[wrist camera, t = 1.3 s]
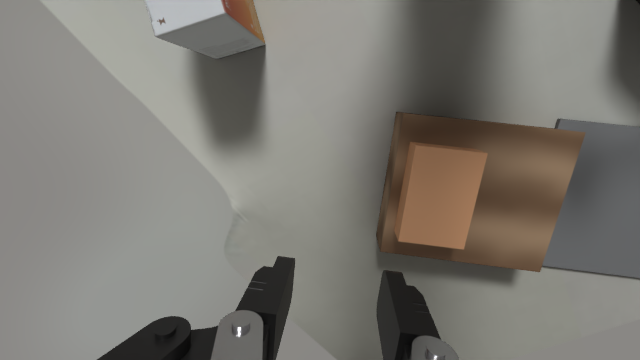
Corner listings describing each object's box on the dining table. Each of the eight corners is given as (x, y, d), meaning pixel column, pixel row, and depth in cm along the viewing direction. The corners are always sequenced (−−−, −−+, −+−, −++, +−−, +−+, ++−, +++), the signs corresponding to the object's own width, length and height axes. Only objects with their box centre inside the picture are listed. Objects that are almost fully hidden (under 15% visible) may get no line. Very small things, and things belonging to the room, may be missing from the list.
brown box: (396, 112, 31) (403, 113, 27) (554, 128, 30) (585, 132, 26) (376, 235, 35) (380, 251, 31) (517, 252, 34) (539, 272, 30)
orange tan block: (410, 141, 28) (416, 145, 25) (475, 149, 27) (487, 153, 25) (394, 230, 30) (398, 241, 28) (454, 238, 30) (463, 249, 27)
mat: (557, 118, 30) (560, 118, 30) (726, 136, 29) (731, 136, 29) (515, 260, 34) (516, 262, 34) (661, 279, 33) (665, 281, 33)
